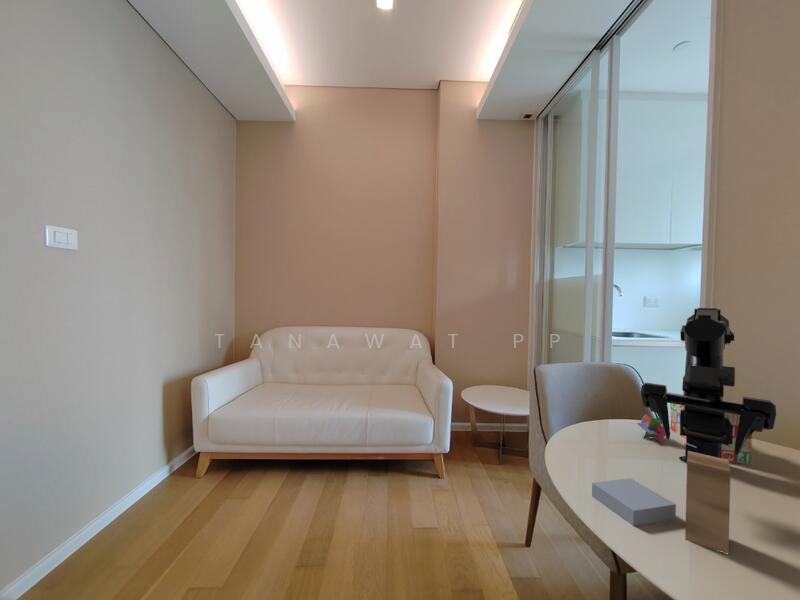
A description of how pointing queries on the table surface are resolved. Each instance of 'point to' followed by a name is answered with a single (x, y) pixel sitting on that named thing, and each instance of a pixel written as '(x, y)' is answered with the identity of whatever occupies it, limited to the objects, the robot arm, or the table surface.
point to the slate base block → (633, 501)
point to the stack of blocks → (726, 451)
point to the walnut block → (708, 501)
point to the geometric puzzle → (652, 427)
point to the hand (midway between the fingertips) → (700, 446)
